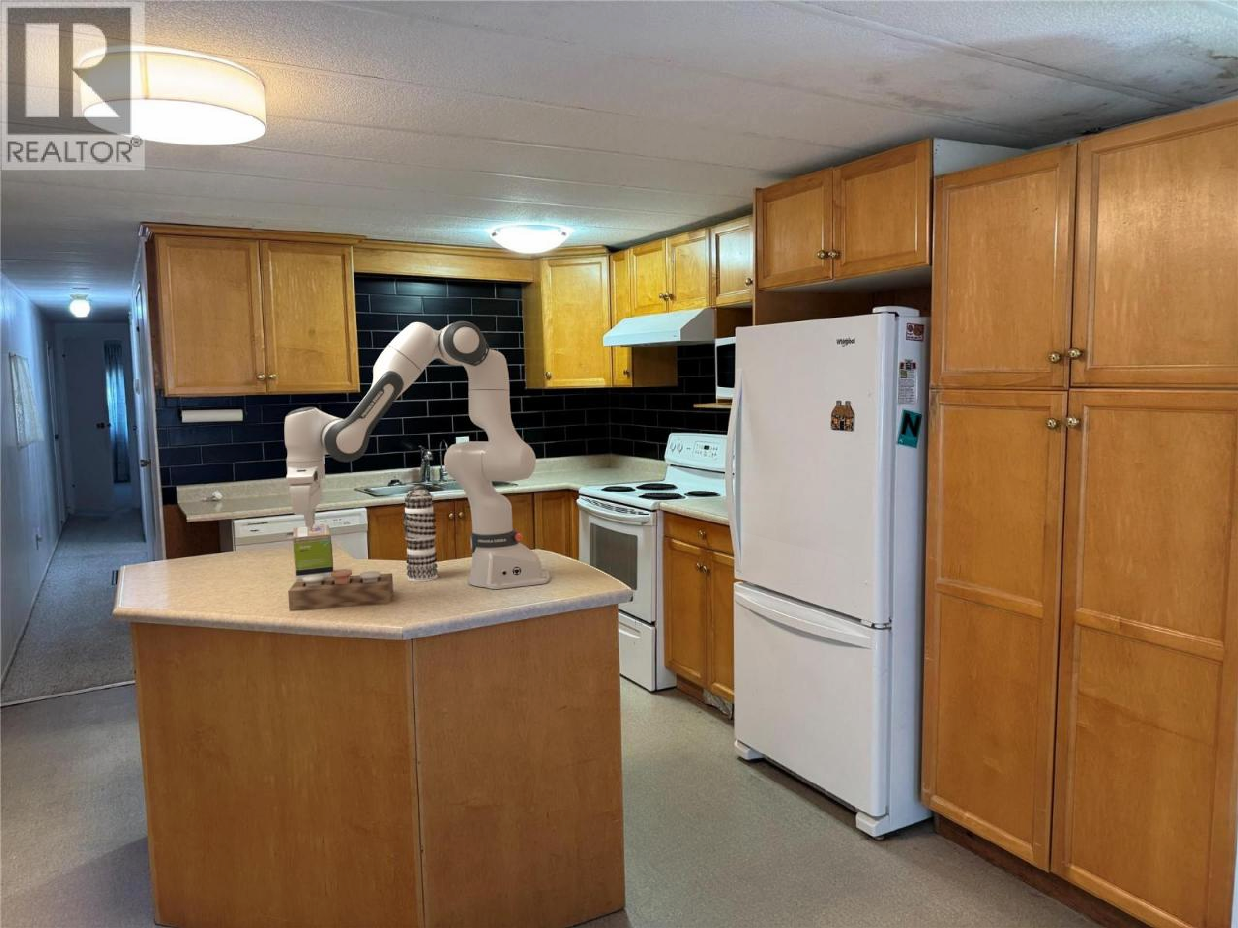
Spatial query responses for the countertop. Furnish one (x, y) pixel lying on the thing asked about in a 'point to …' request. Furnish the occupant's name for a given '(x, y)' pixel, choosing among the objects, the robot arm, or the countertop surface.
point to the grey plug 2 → (370, 576)
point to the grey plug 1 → (313, 580)
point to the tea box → (312, 551)
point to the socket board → (341, 593)
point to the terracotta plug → (341, 576)
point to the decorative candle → (420, 536)
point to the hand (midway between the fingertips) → (310, 525)
